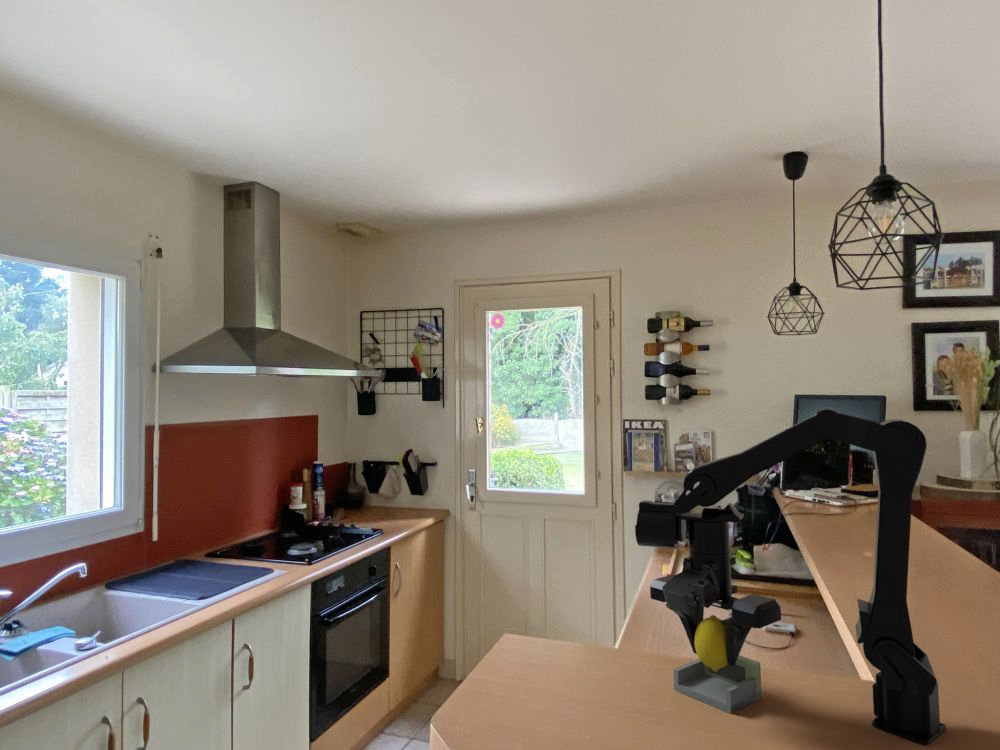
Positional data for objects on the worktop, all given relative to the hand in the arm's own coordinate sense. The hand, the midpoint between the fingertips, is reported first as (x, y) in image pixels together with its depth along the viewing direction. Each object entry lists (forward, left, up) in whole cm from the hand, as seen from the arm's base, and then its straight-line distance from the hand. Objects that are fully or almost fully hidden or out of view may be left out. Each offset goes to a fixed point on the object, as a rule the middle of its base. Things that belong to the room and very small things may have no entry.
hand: (713, 658), depth 96 cm
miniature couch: (0, -1, -5) cm, 5 cm away
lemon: (0, 0, -2) cm, 2 cm away
